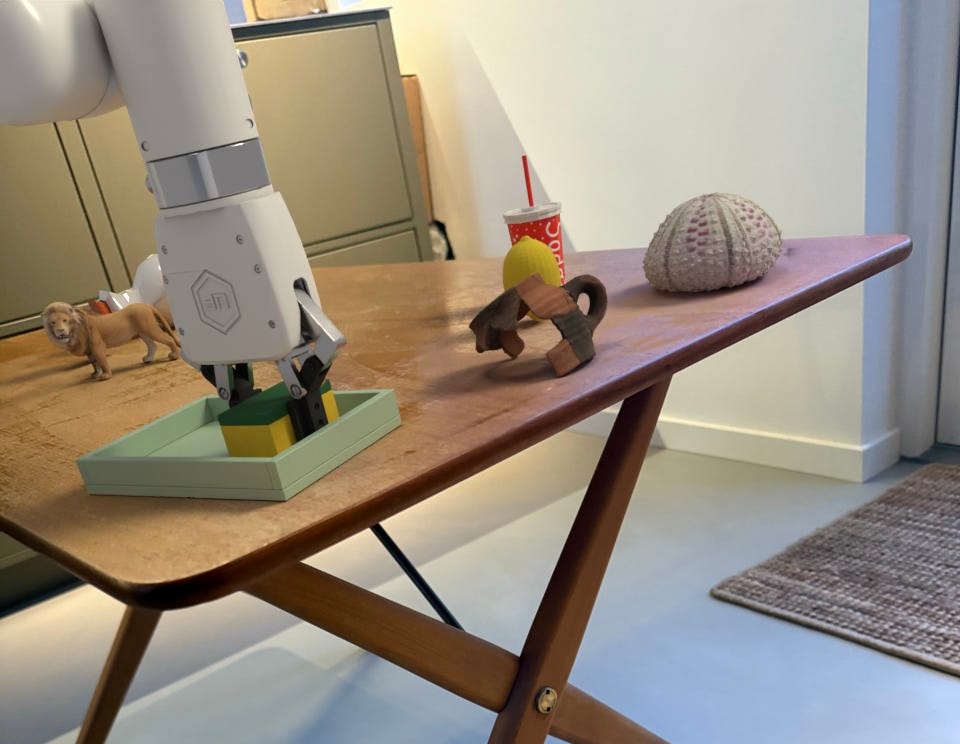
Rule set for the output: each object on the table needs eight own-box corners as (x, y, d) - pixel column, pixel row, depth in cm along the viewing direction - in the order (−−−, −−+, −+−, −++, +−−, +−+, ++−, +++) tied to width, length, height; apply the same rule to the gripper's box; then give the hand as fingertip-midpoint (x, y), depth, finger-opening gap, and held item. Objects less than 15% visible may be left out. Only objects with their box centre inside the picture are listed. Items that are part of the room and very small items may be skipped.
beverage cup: (537, 307, 106) (514, 161, 100) (506, 303, 111) (482, 163, 105) (585, 292, 109) (566, 147, 102) (553, 288, 113) (533, 150, 107)
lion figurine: (73, 392, 113) (41, 309, 108) (61, 386, 117) (29, 306, 112) (197, 353, 119) (171, 273, 115) (180, 349, 123) (155, 271, 119)
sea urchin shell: (736, 299, 93) (730, 206, 89) (617, 300, 102) (607, 214, 99) (809, 263, 101) (806, 175, 97) (691, 266, 110) (685, 186, 106)
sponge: (233, 468, 74) (216, 415, 72) (296, 431, 80) (281, 380, 78) (282, 469, 72) (265, 414, 70) (343, 431, 77) (329, 378, 75)
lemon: (536, 313, 104) (523, 230, 100) (577, 314, 100) (566, 227, 96) (498, 329, 101) (484, 244, 97) (539, 330, 97) (526, 242, 93)
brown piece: (538, 395, 80) (476, 306, 79) (502, 424, 89) (447, 344, 88) (650, 315, 83) (592, 228, 82) (605, 351, 92) (552, 273, 91)
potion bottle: (225, 323, 141) (126, 368, 136) (187, 280, 144) (89, 322, 139) (217, 270, 133) (111, 316, 128) (177, 225, 136) (73, 268, 131)
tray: (88, 494, 78) (74, 459, 77) (215, 426, 89) (205, 395, 87) (286, 501, 68) (274, 461, 67) (402, 424, 79) (394, 388, 77)
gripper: (81, 208, 68) (171, 466, 77) (274, 173, 60) (351, 467, 69) (160, 187, 74) (236, 430, 83) (347, 153, 65) (410, 428, 74)
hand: (287, 444), depth 75 cm, fingers closed on sponge, 4 cm apart
